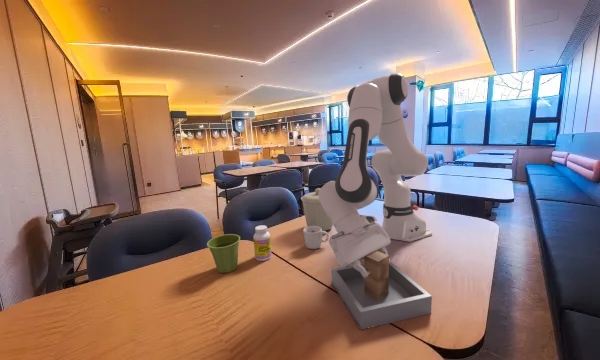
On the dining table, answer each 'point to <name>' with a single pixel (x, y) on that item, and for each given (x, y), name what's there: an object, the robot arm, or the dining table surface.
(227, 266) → the plant pot
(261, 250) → the supplement bottle
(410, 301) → the bin
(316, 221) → the canister
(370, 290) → the walnut block
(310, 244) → the cup
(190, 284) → the dining table surface
